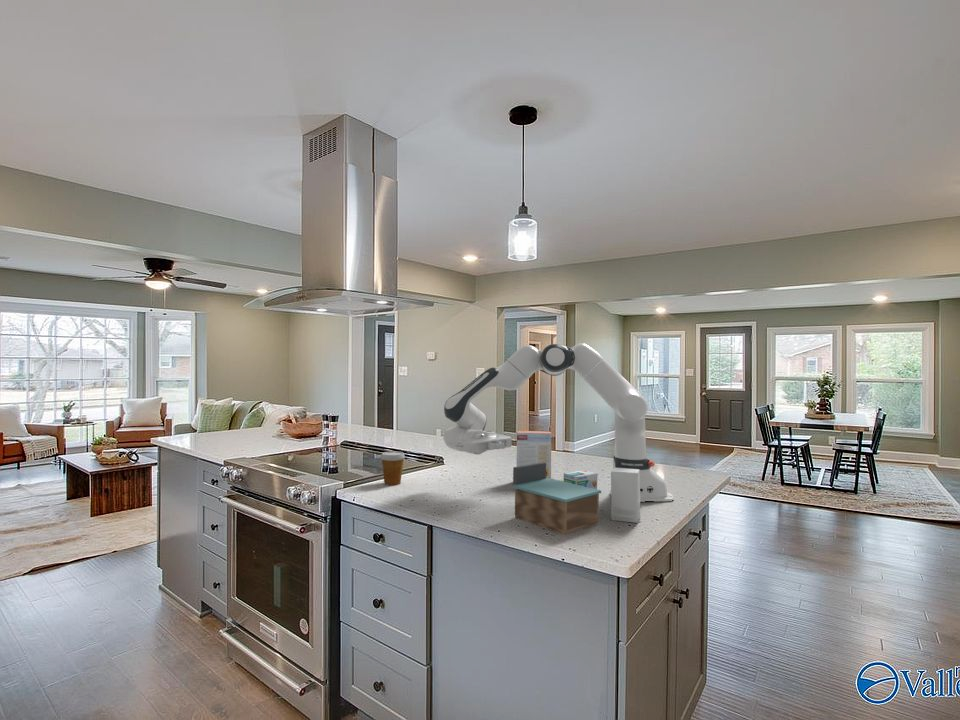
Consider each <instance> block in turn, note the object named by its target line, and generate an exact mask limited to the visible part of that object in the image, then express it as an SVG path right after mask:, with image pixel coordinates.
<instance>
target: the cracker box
mask: <svg viewBox="0 0 960 720" xmlns="http://www.w3.org/2000/svg"><path fill="white" fill-rule="evenodd" d="M516 431H517V433H516V467H518V466H524V465H530V464H536V463H541V462H544V463H546V478H551V479H552V432H551V431H542V430H541V431H539V430H538V431H537V430H516Z"/></svg>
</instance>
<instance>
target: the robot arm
mask: <svg viewBox="0 0 960 720" xmlns="http://www.w3.org/2000/svg"><path fill="white" fill-rule="evenodd" d="M568 369H569V370H572V371H574V372H576V373H577V374H578V375H579V376H580V377H581V379H583V380H584V382H586V383H587V384H588V386H589V387H591V388H592V389H593V390H594V391H595V393H597V395H599V396H600V398H601V399H602V400H603V401H604V402H605V403H606V404H607V405H608V406H609V407H610V408H611V409H612V410H613V411H614V455H613V459H612V460H613V461H612V470H613V469H614V468H627V469H640V503H641V502H643V503H644V502H645V501H654V502H673V501H674V500H673V499H675V498H674V495H673V494H672V493H671V492H669V491H668V487H667V483H666V481H665V480H664V478H663V477H662V476H660V475H659V474H658V473H657V472H655V471H654V470H653V469H652V468H653V467H655V461H653V460H650V459H648V458H647V457H646V452H647V451H646V450H647V449H646V448H647V445H646V443H647V440H646V439H647V438H646V437H647V433H646V414H647V413H648V406H649V405H648V403H647V402H648V401H647V400H646V397H644V396H643V395H642V394H641V392H639V391H638V389H636V388H635V387H634V386H633V384H631V383H630V382H629V381H628V380H627V379H626V378H625V377H624V376H623V375H622V374H620V372H619V371H618V370H616V369H615V367H613V366H612V364H610V363H609V362H608V360H606V359H605V358H604V357H603V356H602V355H601V354H600V353H599V352H598V351H596V349H594V348H592V347H591V346H590V345H588V344H586V343H583V342H582V343H581V342H580V343H577V344H575V345H574V346H572V347H570V346H566V345H563V344H559V343H552V344H548V345H547V346H545V347H544V348H543V350H541V349H540V350H539V349H538V348H537V347H535V346H533V345H531V344H524V345H522V346H521V347H520V348H518V349H517V350H516V351H514V353H513V354H512V355H511V356H510V357H508V358H507V360H505V362H503V363H502V364H501V365H499V366H497V367H490V368H488V369H486V370H485V371H483V372H482V373H480V374H479V375H478V376H477V377H476V378H474V379H473V380H472V381H471V382H470V383H467V385H466V386H465V387H464V388H462V389H461V390H459V391H458V392H456V393H454V394H453V395H452V396H450V397H448V399H447V400H446V401H445V403H444V407H443V411H444V416H445V418H446V419H448V420H449V421H451V422H453V423H454V425H453V426H451V427H449V428H446V430H445V431H444V433H443V441H444V444H445V445H446V447H447V448H449V449H451V450H454V451H458V452H461V453H462V452H465V453H467V454H471V455H477V456H478V455H482V454H483V453H485V452H487V451H493V450H503V449H506V448H511V447H512V444H513V443H512V437H511V436H509V435H507V434H506V435H505V434H501V433H496V432H495V431H491V430H490V431H488V430H487V431H486V430H485V428H486V426H487V415H486V414H485V413H484V412H482V410H480V409H479V408H478V407H477V406H475V405H474V404H473V403H472V400H474V399H475V398H476V397H478V396H479V395H480V394H481V393H483V391H485V390H486V389H488V388H499V389H503V390H506V391H516V390H518V389H520V388H522V386H524V384H525V383H527V381H528V380H529V379H530V377H531V376H533V375H534V373H536V372H537V371H540V372H542V373H545V374H546V375H548V376H552V377H553V376H555V377H558V376H560V375H562V374H564V373H565V372H566V371H567V370H568ZM609 495H610V496H611V489H610V490H609ZM672 500H673V501H672ZM645 503H646V502H645Z"/></svg>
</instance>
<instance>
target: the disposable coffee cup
mask: <svg viewBox="0 0 960 720" xmlns="http://www.w3.org/2000/svg"><path fill="white" fill-rule="evenodd" d="M380 458H381V459H380V460H381V465H382V473H383V482H384V483H385V484H384V483H383V484H384V485H386V484H389V485H388V486H397V484H399V485H400V484H401V483H402V482H401V481H402V475H403V469H404V468H403V467H404V461H405V458H406V456H405V453H404V452H403V451H394V450H393V451H391V450H390V451H384V452H382V453H381V455H380Z"/></svg>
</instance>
